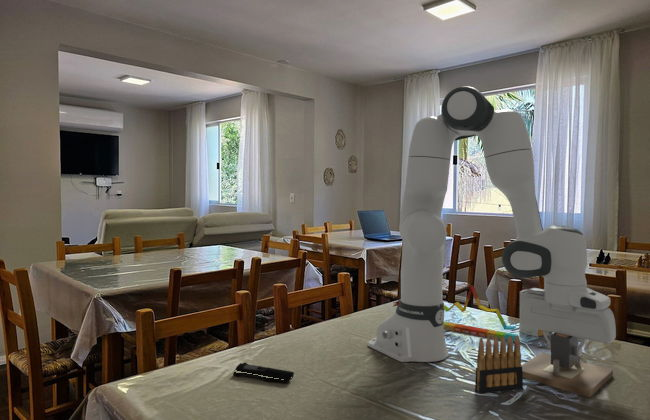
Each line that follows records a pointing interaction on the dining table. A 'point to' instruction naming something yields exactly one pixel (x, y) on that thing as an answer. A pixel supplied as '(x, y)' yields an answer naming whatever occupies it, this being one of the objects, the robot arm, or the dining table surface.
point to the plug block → (563, 350)
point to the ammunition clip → (499, 366)
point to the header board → (566, 375)
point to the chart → (476, 330)
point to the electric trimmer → (263, 372)
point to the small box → (527, 329)
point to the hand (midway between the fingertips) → (564, 352)
